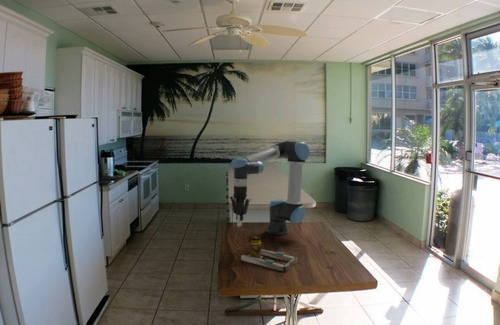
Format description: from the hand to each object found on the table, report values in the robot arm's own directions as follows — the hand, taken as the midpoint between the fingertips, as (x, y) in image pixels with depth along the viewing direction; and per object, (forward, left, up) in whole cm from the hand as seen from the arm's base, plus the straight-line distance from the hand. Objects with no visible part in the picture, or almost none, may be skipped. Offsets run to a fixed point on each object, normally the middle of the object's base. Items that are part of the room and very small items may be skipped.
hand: (239, 225), depth 184 cm
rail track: (0, +20, -17) cm, 26 cm away
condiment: (0, +10, -17) cm, 20 cm away
